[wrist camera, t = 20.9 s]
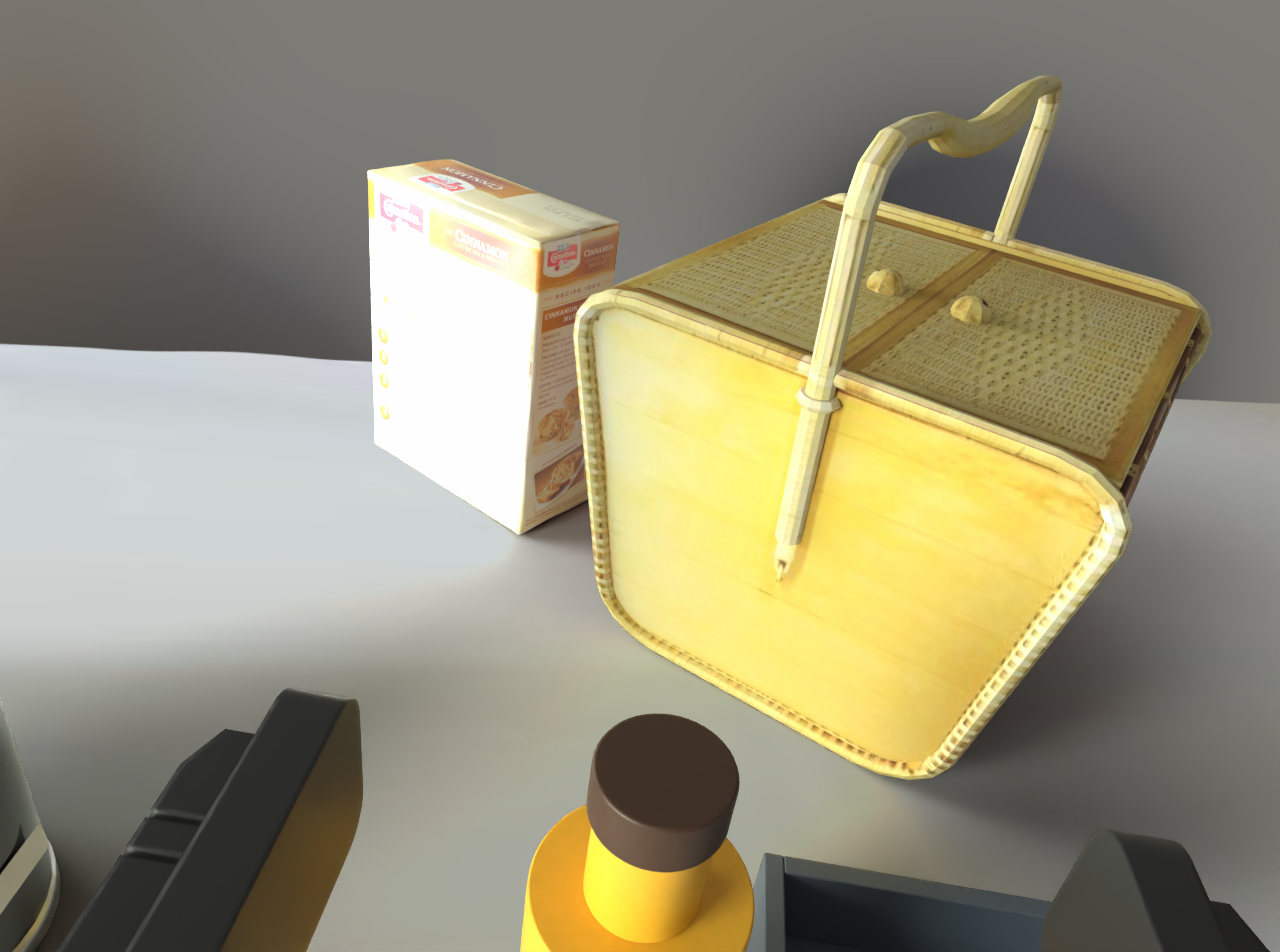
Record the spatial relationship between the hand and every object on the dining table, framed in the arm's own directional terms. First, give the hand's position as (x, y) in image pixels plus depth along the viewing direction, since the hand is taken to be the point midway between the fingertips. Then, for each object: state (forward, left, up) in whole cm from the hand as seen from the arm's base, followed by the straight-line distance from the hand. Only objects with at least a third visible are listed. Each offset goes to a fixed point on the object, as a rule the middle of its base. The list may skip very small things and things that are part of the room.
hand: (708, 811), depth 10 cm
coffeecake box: (-44, +25, -28) cm, 58 cm away
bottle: (-5, +6, -28) cm, 29 cm away
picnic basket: (-21, +37, -28) cm, 51 cm away
